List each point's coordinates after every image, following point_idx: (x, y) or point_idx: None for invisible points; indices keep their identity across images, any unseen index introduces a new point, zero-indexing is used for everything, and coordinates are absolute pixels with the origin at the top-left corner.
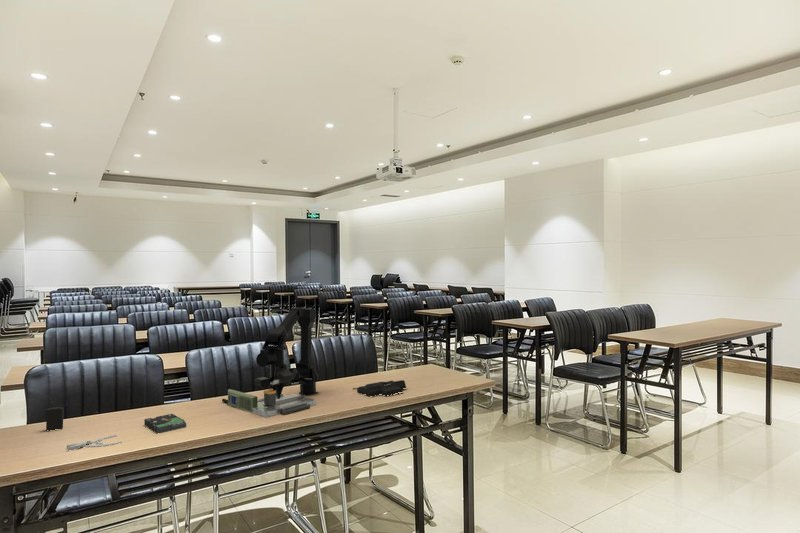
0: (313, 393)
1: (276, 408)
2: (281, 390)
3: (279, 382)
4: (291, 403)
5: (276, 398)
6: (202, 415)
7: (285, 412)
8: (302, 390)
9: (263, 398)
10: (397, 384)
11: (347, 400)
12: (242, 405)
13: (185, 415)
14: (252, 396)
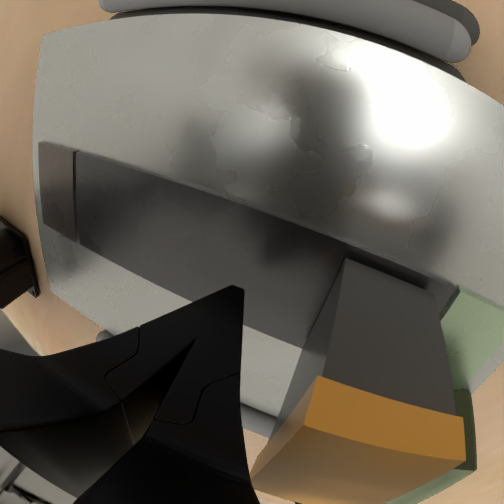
0: (5, 224)
1: (478, 142)
2: (140, 340)
3: (66, 490)
4: (195, 104)
5: None
6: (488, 474)
7: (455, 3)
8: (17, 276)
9: (246, 424)
10: None
11: (3, 5)
12: None
13: (479, 493)
14: (440, 486)
